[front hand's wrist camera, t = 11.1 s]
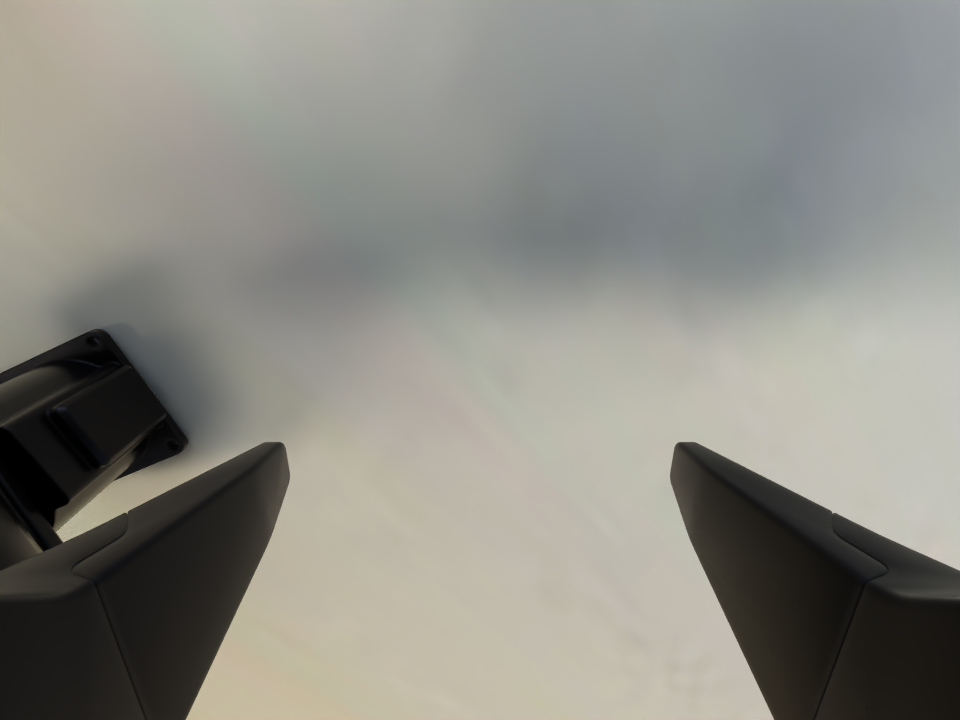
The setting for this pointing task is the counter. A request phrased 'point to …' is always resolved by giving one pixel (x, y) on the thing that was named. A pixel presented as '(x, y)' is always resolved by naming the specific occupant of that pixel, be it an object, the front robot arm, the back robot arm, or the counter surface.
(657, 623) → the counter surface
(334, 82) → the counter surface
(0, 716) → the front robot arm
